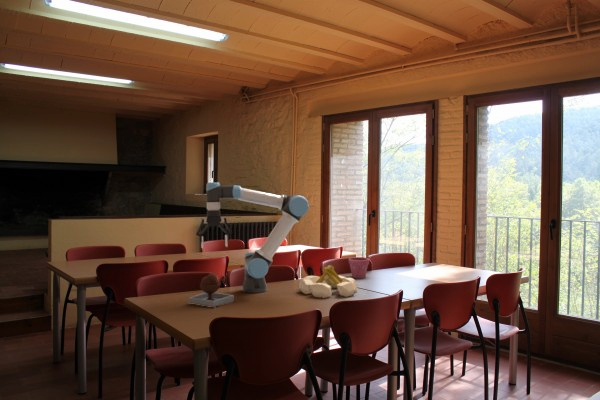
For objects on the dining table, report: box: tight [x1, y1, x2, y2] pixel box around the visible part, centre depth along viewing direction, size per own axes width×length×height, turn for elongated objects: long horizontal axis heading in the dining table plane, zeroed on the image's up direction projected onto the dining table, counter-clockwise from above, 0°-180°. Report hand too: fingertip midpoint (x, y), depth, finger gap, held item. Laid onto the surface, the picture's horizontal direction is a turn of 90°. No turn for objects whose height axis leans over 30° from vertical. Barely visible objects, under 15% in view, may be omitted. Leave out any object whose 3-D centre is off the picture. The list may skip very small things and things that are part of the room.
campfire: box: [298, 264, 358, 299], centre depth 296 cm, size 35×34×17 cm
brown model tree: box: [199, 272, 221, 301], centre depth 266 cm, size 11×11×15 cm
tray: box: [187, 292, 235, 307], centre depth 266 cm, size 17×17×4 cm
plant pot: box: [348, 257, 370, 279], centre depth 345 cm, size 14×14×13 cm
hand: (214, 247), depth 280 cm, fingers open, 13 cm apart
